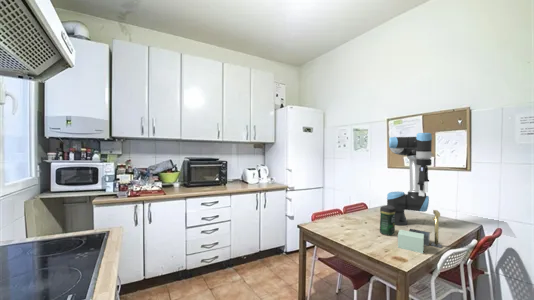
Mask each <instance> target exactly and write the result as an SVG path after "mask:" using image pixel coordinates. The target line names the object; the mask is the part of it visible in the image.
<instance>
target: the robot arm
mask: <svg viewBox="0 0 534 300" xmlns="http://www.w3.org/2000/svg"><path fill="white" fill-rule="evenodd" d="M432 141H433V137H432V133H431V132H418V133H416V136H390V137H389V138H388V148H389V149H390V151H391V153H393V154H394V155H395V154H396V155H398V156H406V158H407V159H408V160H409V190H408V192H407V193H405V192H404V191H390V192H388V193H387V195H386V205H391V206H394V207H395V226H406V225H407V224H408V220H407V218H406V214H405V211H411V212H412V211H414V212H427V211H428V208H429V204H430V203H429V202H430V200H429V199H430V197H429V195H427V193H428V191H429V184H428V183H429V182H430V180H429V169H428V168H429V166H432V156H433V155H434V153H432V145H433V144H432V143H433V142H432Z"/></svg>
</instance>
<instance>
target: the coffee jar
mask: <svg viewBox="0 0 534 300" xmlns="http://www.w3.org/2000/svg"><path fill="white" fill-rule="evenodd" d="M379 213H380V214H379V215H380V220H379V221H380V223H379V233H380V234H382V235H385V236H393V235H394V234H396V229H395V228H396V227H395V226H396V225H395V207H394V206H391V205H387V204H386V205H383V206H380V209H379Z"/></svg>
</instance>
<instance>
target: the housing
mask: <svg viewBox="0 0 534 300" xmlns="http://www.w3.org/2000/svg"><path fill="white" fill-rule="evenodd" d="M408 231H410V232H416V233H421V234H424V246H427V247H429V245H430V243H431V245H430V247H434V248H438V249H442V244H440V243H438V245H436V244H435V242H431V241H430V240H431V238H430V237H431V236H430V235H431V233H430V232H429V231H425V230H424V231H423V230H418V229H414V228H410V229H409V230H408Z"/></svg>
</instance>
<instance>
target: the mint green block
mask: <svg viewBox="0 0 534 300" xmlns="http://www.w3.org/2000/svg"><path fill="white" fill-rule="evenodd" d="M424 246H425V245H424V234H421V233H416V232H410V231H409V230H404V229H399V230H398V233H397V248H398V249H401V250H406V251H411V252H415V253H418V254H419V253H420V254H424V252H423V251H425V250H424V249H425V247H424Z"/></svg>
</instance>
